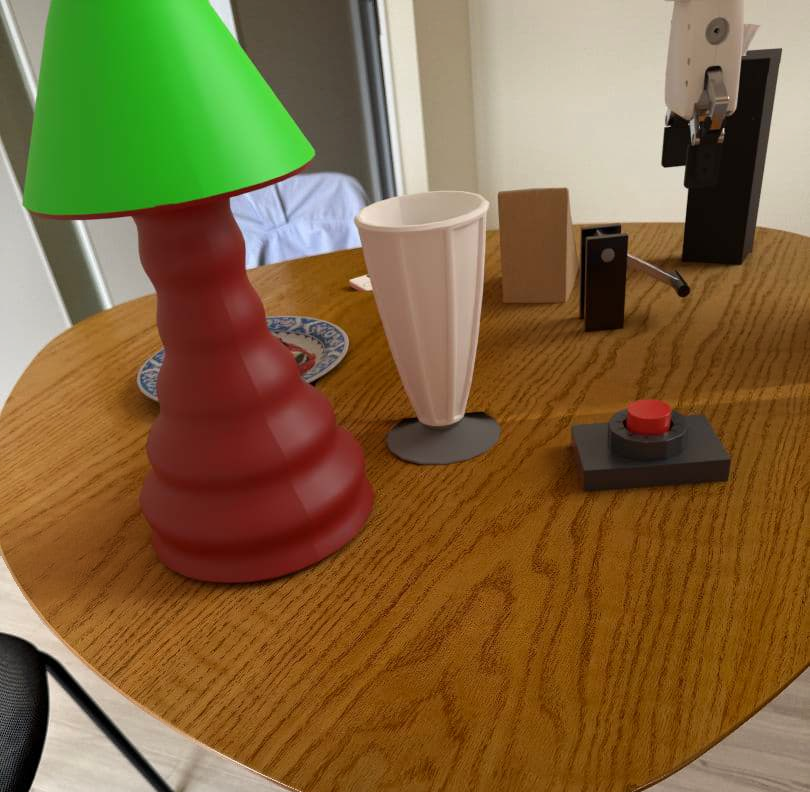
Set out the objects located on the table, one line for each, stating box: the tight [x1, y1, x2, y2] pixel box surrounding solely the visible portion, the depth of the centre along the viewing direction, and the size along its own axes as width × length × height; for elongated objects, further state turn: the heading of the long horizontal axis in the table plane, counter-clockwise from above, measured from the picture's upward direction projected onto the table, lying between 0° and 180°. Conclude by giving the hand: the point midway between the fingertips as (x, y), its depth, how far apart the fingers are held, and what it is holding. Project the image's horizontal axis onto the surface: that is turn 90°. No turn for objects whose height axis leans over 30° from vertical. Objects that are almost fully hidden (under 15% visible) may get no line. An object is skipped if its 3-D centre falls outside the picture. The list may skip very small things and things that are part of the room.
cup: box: [353, 190, 502, 466], centre depth 71 cm, size 12×12×22 cm
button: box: [626, 398, 672, 436], centre depth 67 cm, size 4×4×2 cm
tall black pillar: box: [681, 23, 783, 266], centre depth 99 cm, size 8×8×28 cm
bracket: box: [578, 222, 629, 333], centre depth 90 cm, size 12×8×12 cm, turn 88°
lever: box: [593, 230, 691, 298], centre depth 89 cm, size 12×5×2 cm, turn 88°
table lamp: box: [22, 0, 375, 584], centre depth 56 cm, size 20×20×45 cm
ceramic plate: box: [136, 315, 350, 403], centre depth 95 cm, size 26×26×3 cm
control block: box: [570, 407, 732, 493], centre depth 68 cm, size 12×8×4 cm, turn 88°
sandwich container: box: [497, 187, 580, 304], centre depth 102 cm, size 9×15×15 cm, turn 163°
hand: (687, 175), depth 83 cm, fingers open, 9 cm apart
